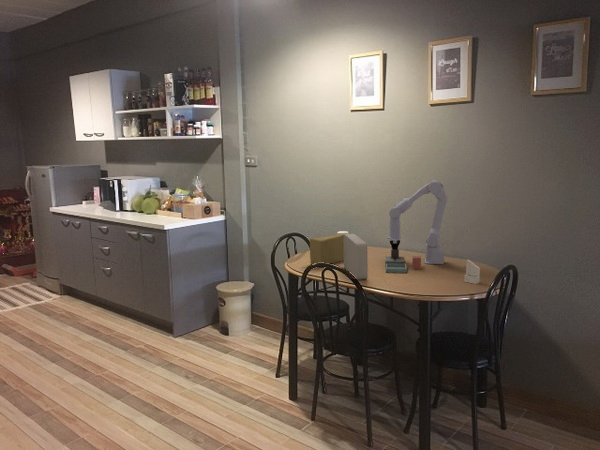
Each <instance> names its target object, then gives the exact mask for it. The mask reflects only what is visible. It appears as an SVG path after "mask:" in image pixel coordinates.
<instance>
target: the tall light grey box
mask: <svg viewBox="0 0 600 450" xmlns="http://www.w3.org/2000/svg"><path fill="white" fill-rule="evenodd" d="M343 242H344V261H343V266H344V268H345V270H348V271H349V272H351V273H352V274H353V275H354V276H355V277H356V279H357V280H358V281H359V280H367V279H368V274H369V273H368V269H369V268H368V244H367V242H365V241H364V240H363V239H362V238H360V237H359V236H358V235H356V234H355V233H348V234H344V238H343ZM348 271H347V272H348ZM349 272H348V273H349ZM357 280H356V281H357Z"/></svg>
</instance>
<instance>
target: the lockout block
mask: <svg viewBox="0 0 600 450" xmlns="http://www.w3.org/2000/svg"><path fill="white" fill-rule="evenodd" d="M412 270H422V257H421V256H420V255H413V256H412Z"/></svg>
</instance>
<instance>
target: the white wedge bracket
mask: <svg viewBox="0 0 600 450" xmlns="http://www.w3.org/2000/svg"><path fill="white" fill-rule="evenodd" d="M465 270H466V271H465V272H466V273H465V274H464V275H463V277H464V279H463V281H464V283H470V284H475V285H476V284H479V283H480V281H481V279H480V278H481V277H480V276H481V268H480V267H479V266H478V265H476V263H474V262H472V260H470V258H469V259H466V269H465Z"/></svg>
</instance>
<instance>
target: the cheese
mask: <svg viewBox="0 0 600 450" xmlns="http://www.w3.org/2000/svg"><path fill="white" fill-rule="evenodd" d="M343 238H344V234H338V235H337V234H333V235H329V236H324V237H312V238H310V239H309V257H310V258H309V259H310V260H309V261H310V265H311V264H314V263H318V262H324V263H333V264H336V262H337V263H340V261H341V262H344V242H343Z"/></svg>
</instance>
